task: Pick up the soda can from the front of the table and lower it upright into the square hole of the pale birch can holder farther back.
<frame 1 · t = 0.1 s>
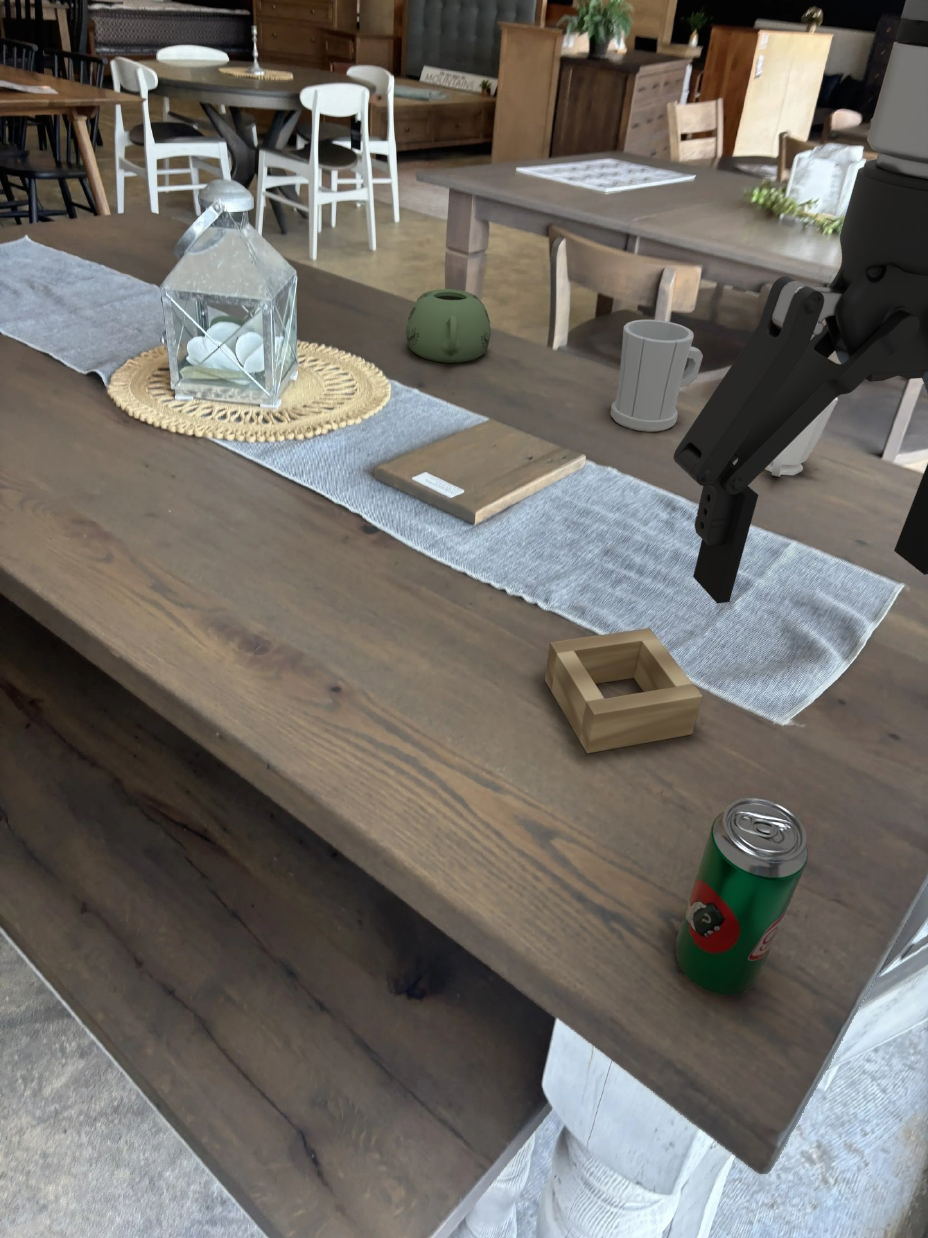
hand: (815, 575, 52), 21 cm above the table, tool pointing down, fingers open, 13 cm apart
soda can: (714, 964, 55), on the table
holder: (616, 706, 73), on the table
cup: (777, 472, 111), on the table
cup 2: (645, 418, 122), on the table
mug: (448, 356, 138), on the table
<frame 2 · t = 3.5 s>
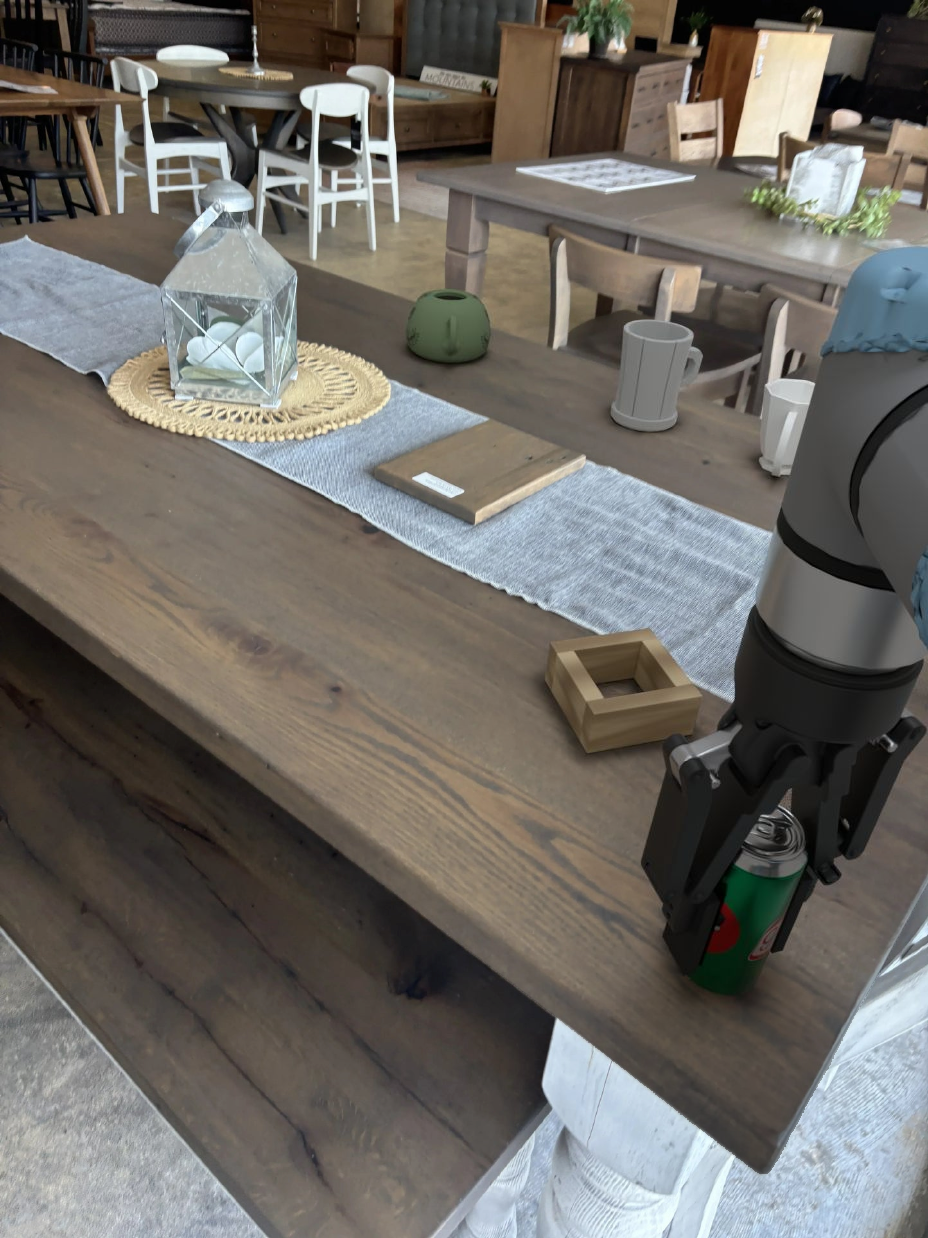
hand: (722, 943, 53), 2 cm above the table, tool pointing down, fingers closed on soda can, 5 cm apart
soda can: (714, 964, 55), on the table, touching gripper
everything else where it was.
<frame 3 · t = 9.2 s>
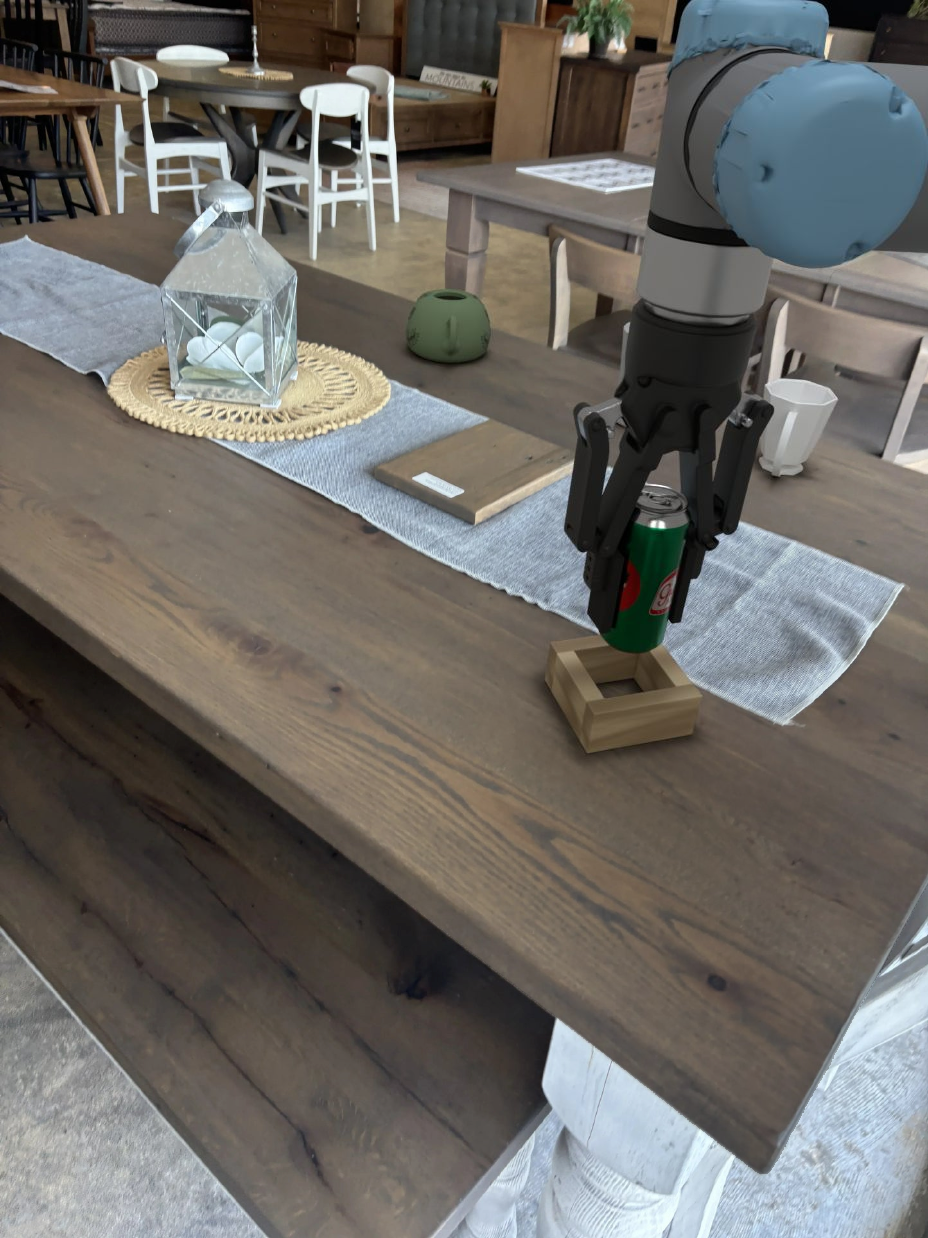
hand: (633, 617, 68), 9 cm above the table, tool pointing down, fingers closed on soda can, 5 cm apart
soda can: (629, 639, 70), point 7 cm above the table, touching gripper
everything else where it was.
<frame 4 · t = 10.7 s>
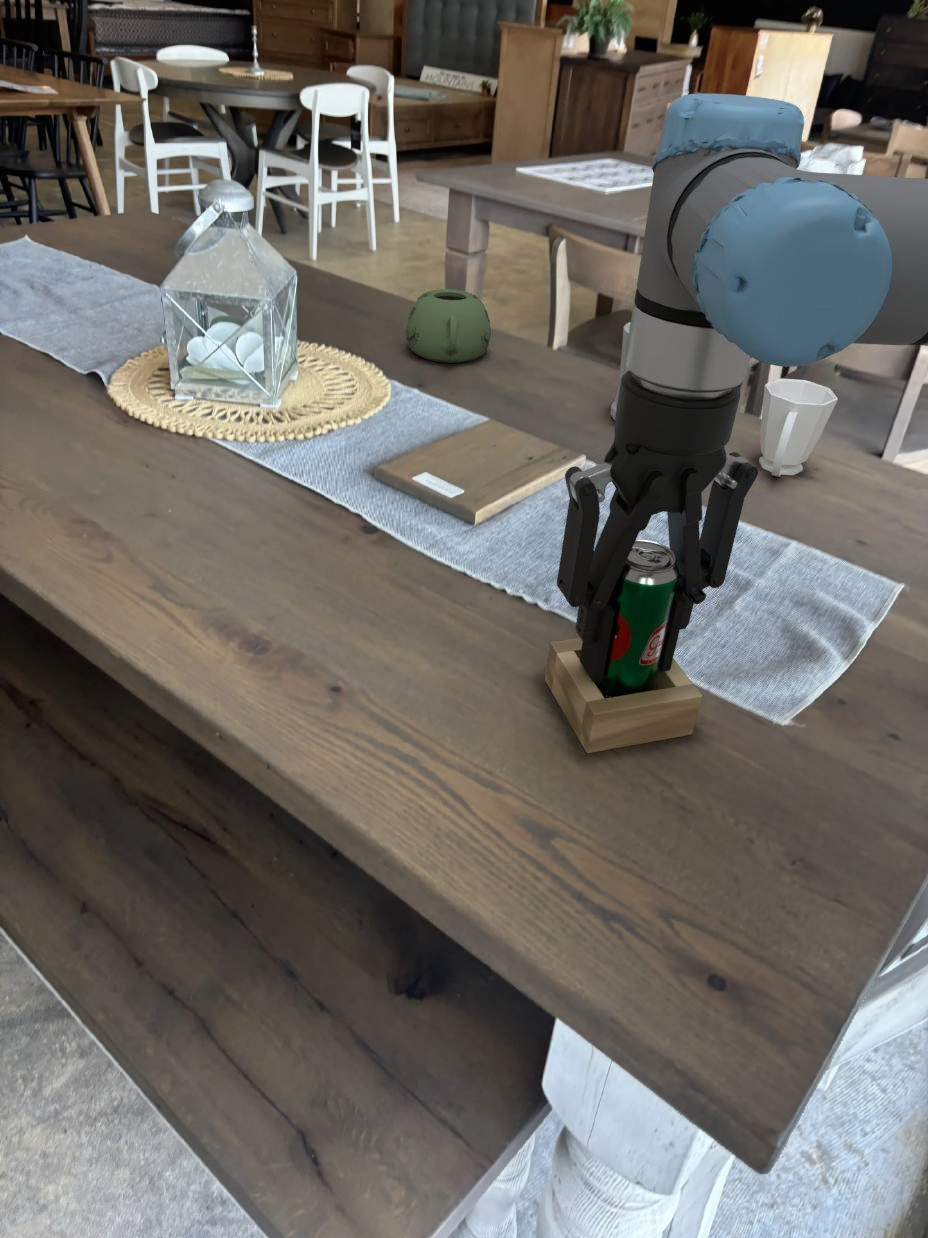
hand: (624, 665, 71), 4 cm above the table, tool pointing down, fingers closed on soda can, 5 cm apart
soda can: (620, 686, 72), point 2 cm above the table, touching gripper
everything else where it was.
when the fingers open (5 cm above the table, at t = 15.3 s): soda can drops 3 cm, resting in holder.
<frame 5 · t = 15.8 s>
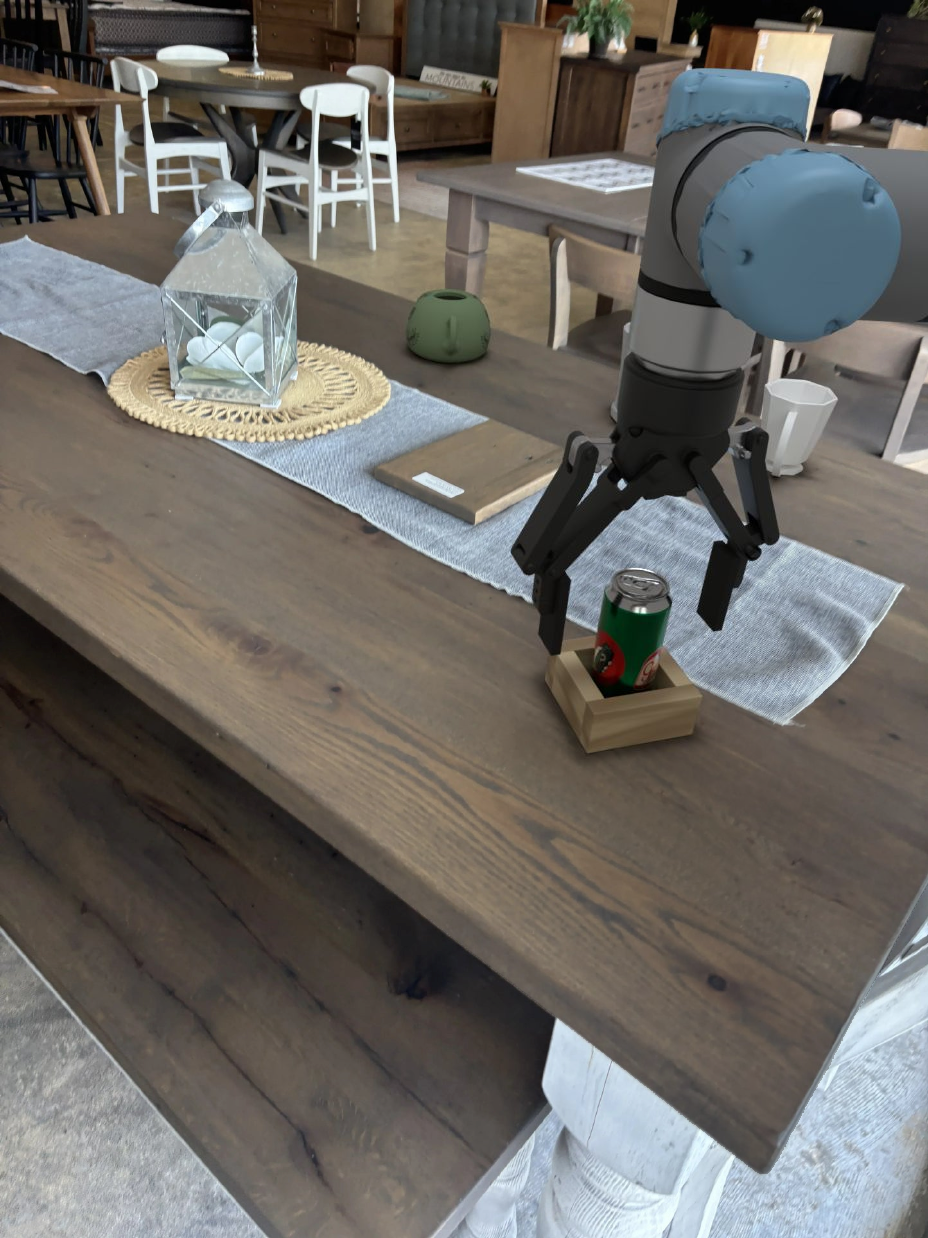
hand: (630, 632, 69), 7 cm above the table, tool pointing down, fingers open, 13 cm apart
soda can: (615, 708, 73), resting in holder
everything else where it was.
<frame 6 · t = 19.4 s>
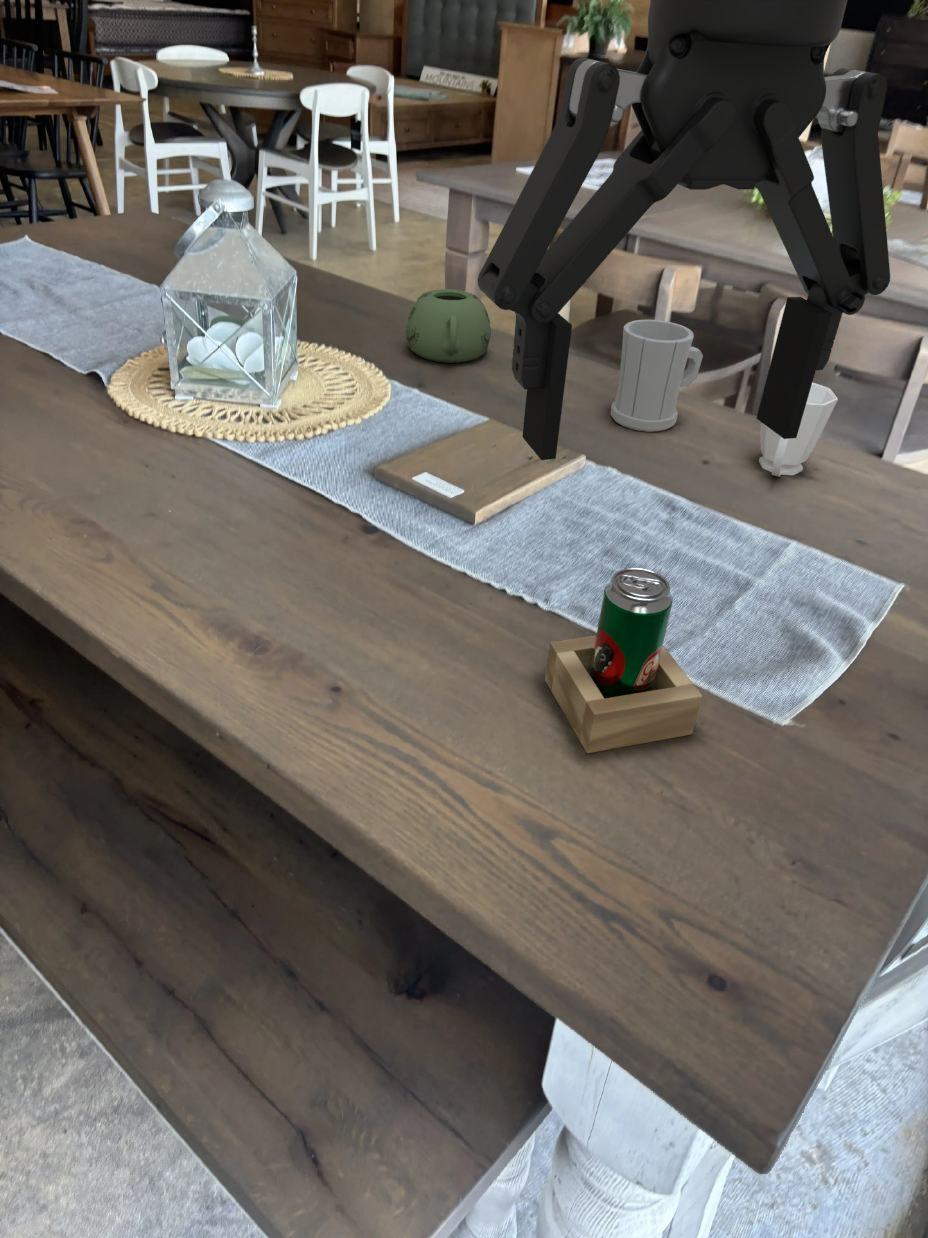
hand: (661, 438, 47), 29 cm above the table, tool pointing down, fingers open, 13 cm apart
nothing on the table moved.
at the end: soda can 0.1 cm off-centre in the holder, point 0.0 cm above the holder's base; soda can tilted 0° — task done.
